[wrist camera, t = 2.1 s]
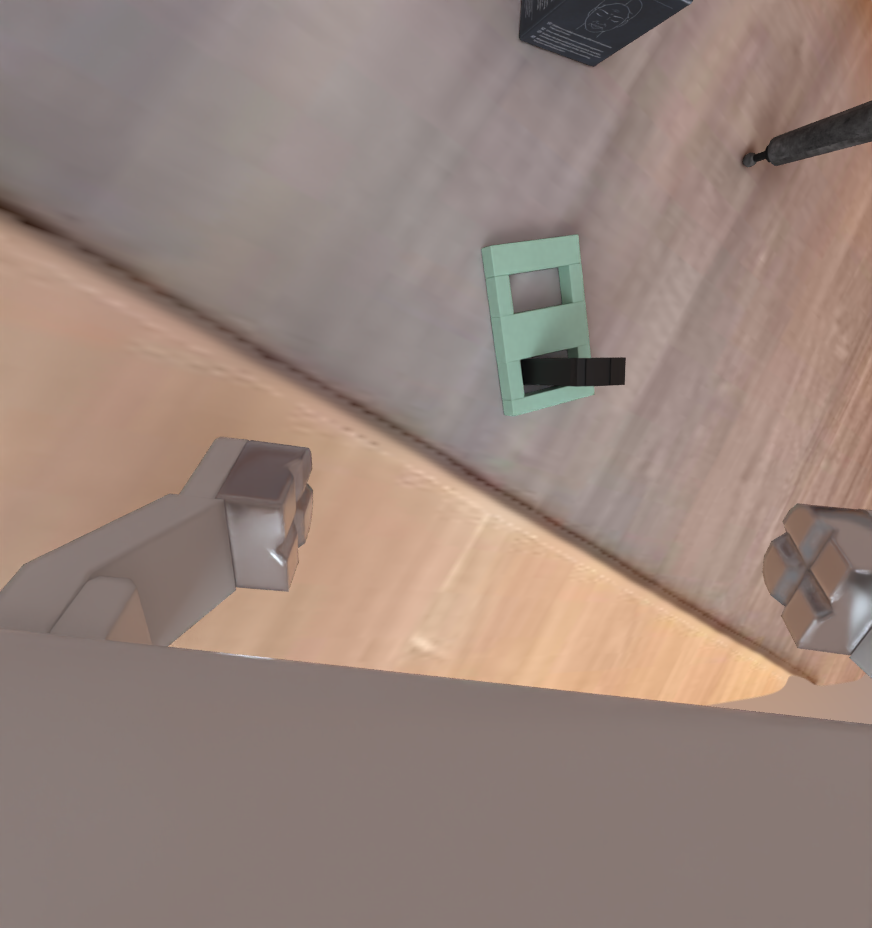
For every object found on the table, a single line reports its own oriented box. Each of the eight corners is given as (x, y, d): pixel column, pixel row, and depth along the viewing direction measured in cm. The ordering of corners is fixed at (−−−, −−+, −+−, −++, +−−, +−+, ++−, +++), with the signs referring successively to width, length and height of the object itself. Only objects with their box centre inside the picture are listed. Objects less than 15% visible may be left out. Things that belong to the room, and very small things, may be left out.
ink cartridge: (518, 384, 54) (577, 388, 47) (518, 358, 53) (578, 358, 46) (563, 383, 56) (626, 386, 49) (563, 358, 56) (628, 357, 49)
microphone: (711, 172, 61) (954, 96, 43) (737, 110, 61) (987, 8, 43) (751, 211, 64) (991, 154, 46) (774, 151, 64) (1022, 72, 46)
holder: (480, 248, 50) (490, 245, 49) (567, 237, 54) (578, 234, 53) (504, 415, 54) (513, 416, 52) (583, 393, 57) (594, 394, 56)
